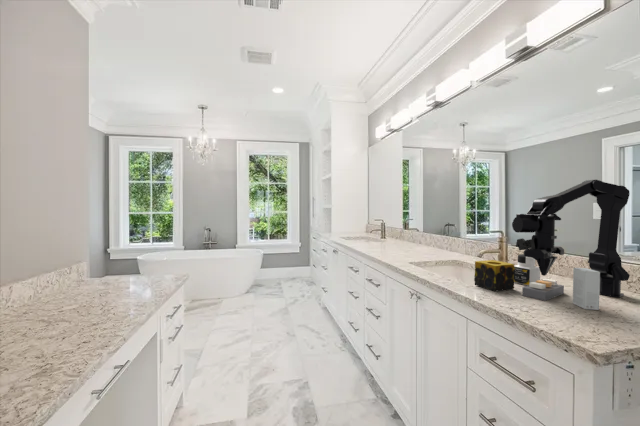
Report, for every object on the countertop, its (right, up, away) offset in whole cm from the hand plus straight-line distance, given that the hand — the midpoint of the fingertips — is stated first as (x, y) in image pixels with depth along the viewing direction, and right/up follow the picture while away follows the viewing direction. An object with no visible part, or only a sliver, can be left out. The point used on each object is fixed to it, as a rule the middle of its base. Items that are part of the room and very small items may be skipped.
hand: (543, 275), depth 109 cm
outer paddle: (-4, -4, -3) cm, 6 cm away
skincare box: (+4, -8, -13) cm, 15 cm away
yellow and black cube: (-12, -7, +10) cm, 17 cm away
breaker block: (0, -7, 0) cm, 7 cm away
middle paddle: (0, -4, 0) cm, 4 cm away
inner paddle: (+4, -4, +3) cm, 6 cm away
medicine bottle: (+5, -7, +16) cm, 19 cm away
